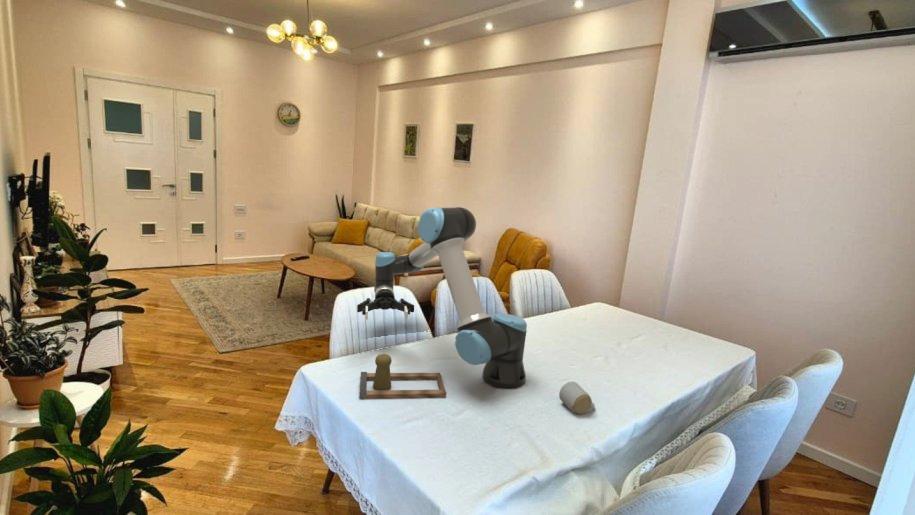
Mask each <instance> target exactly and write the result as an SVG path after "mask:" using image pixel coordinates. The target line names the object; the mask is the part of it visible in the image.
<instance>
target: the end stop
mask: <svg viewBox="0 0 915 515" xmlns="http://www.w3.org/2000/svg"><path fill="white" fill-rule="evenodd" d="M367 373H368V372H367V371H360V380H359V381H360V382H359V396H358V397H359V400H367V399H366V390H367V382H368V381H367Z"/></svg>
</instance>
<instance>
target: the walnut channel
mask: <svg viewBox="0 0 915 515" xmlns="http://www.w3.org/2000/svg"><path fill="white" fill-rule="evenodd" d="M390 376H391V382H392V380H394V381H436V383H437V387H438V388H437V389H390V390H374V389H372V390H370V389H369V390H367V389H366V399H365V400H385V399H386V400H388V399H389V400H390V399H391V400H393V399H439V398H441V399H443V398H444V399H446V398H447V390H446V387H445V384H444V381H443V377H442V374H441V372H390ZM374 377H375V372H367V382H368V381H370V382H374ZM394 381H393V382H394Z"/></svg>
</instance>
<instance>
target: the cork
mask: <svg viewBox="0 0 915 515" xmlns="http://www.w3.org/2000/svg"><path fill="white" fill-rule="evenodd" d="M374 361H375V362H374V363H375V365H376V368H375V372H374V373H375V377H374V381H373V382H372V388H373V389H372V390H392V381H391V376H390V373H391V364H392V357H391V355H389V354H387V353H381V354H378V355H376V357H375V359H374Z"/></svg>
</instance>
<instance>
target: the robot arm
mask: <svg viewBox="0 0 915 515" xmlns="http://www.w3.org/2000/svg"><path fill="white" fill-rule="evenodd" d="M417 224H418V225H417V231H418V236H419V238H420V240H421V241H423V243H421V244H420V245H419V246H417V247H415V248H414V249H413V250H412V251H411V252H409V253H407V254H405V255H397V256H396V255H395V253H393V252H389V251H381V252H378V253H377V254H376V255H375V262H374V265H375V270H374V271H375V272H374V273H375V277H374V289H373V290H374V291H373V292H374V299H373V300H372V299H371V298H369V297H367V298H366V299H365V300H364V301H362V302H360V303H359V304H357V305H356V312H357V313H362V314H361V315H363V316H364V317H365V319H364V320H366V321H367V320H368V318H369V316H368V315H369V312H371V311H373V310H382V311H383V310H385V311H386V310H390V309H391V310H398V311H401V312H403V315H404V319H405V320H408V318H409V315H411V313H415V305H414V304H412V303H410V302H408V301H407V300H405V299H404V298H403V297H402V298H400V299H399V300H397V299H396V297H395V293H394V285H395V284H394V282H395V281H394V279H395V276H397V275H403V274H410V273H417V272H420V271H423V269H424V267H425V265H426V264H427V263H429V262H430V261H432V260H433V259H435V258H437V257H438V258H439V262H440V265H441V268H442V271H443V274H444V277H445V280H446V283H447V287H448V289H449V293H450V296H451V298H452V302H453V304H454V307H455V310H456V313H457V314H456V315H457V316H458V320H459V323H458V325H457V327H456V329H457V331H458V333H457V334H456V336H455V341H454V346H455V349H456V352H457V354H458V355H459V357H460V358H461V360H463V361H464V362H466V363H467V364H468V365H471V366H478V365H483V364H485V365H484V367H483V369H482V373H481V374H482V375H481V377H482V380H483V381H484V383H485V382H486V384H488V385H490V386H492V387H495V388H498V389H504V390H515V389H518V388H521V387H523V386H524V385H525V384H526V380H527V378H526V377H527V376H526V375H527V374H526V372H525V365H524V361H523V360H524V352H525V345H526V337H527V333H528V332H527V331H528V330H527V325H528V324H527V322H526V320H525V319H524V318H522V317H520V316H517V315H514V314H509V313H495V314H494V315H493V318H492V316H491V315H489V314H488V313H486V311H485V309H484V306H483V304H482V301H481V298H480V296H479V292H478V289H477V287H476V284H475V281H474V279H473V276H472V272H471V269H470V267H469V263H468V260H467V258H466V255H465V252H464V248H463V244H464V242H465V241H467V240H469V239H470V238H471V237H472V236H474V233H475V231H476V228H477V221H476V218H475V216H474V214H473V213H472V211H470V210H468V208H464V207H461V206H458V207H439V206H436V207H432V208H431V207H430V208H427V209H426V210H424V211H423V212H422V214H421V215H420V218H419V221H418V223H417Z"/></svg>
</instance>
